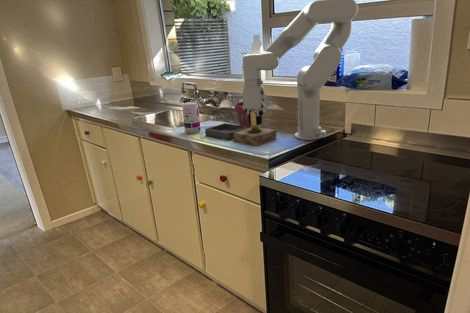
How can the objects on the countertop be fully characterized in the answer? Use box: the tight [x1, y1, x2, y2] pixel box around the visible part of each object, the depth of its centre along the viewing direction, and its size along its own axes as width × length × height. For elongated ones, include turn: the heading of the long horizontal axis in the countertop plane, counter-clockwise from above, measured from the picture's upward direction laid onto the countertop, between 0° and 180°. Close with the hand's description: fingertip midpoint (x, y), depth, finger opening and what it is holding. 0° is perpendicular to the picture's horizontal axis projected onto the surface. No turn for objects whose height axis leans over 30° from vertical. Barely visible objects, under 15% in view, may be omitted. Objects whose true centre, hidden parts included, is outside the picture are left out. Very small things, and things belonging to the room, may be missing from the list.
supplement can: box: [181, 101, 201, 134], centre depth 180 cm, size 8×8×15 cm
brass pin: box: [250, 110, 261, 134], centre depth 158 cm, size 4×4×11 cm
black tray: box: [204, 122, 248, 141], centre depth 172 cm, size 16×14×4 cm
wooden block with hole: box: [232, 127, 277, 147], centre depth 160 cm, size 14×14×4 cm
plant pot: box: [234, 101, 260, 128], centre depth 182 cm, size 14×14×13 cm
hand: (255, 123), depth 158 cm, fingers closed on brass pin, 4 cm apart
